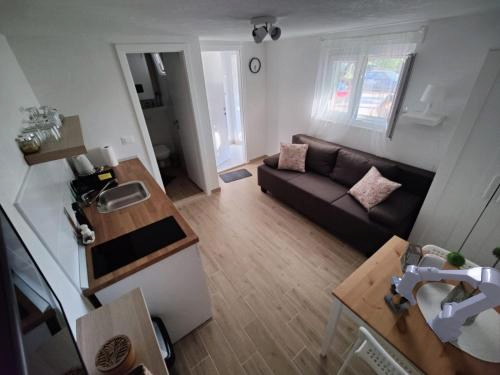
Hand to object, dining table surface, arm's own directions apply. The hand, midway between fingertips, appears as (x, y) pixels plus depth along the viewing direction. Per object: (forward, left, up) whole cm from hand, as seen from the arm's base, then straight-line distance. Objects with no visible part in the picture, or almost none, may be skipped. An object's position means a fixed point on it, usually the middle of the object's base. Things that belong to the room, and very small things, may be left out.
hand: (398, 299), depth 114 cm
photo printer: (+15, -34, -4) cm, 37 cm away
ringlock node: (+4, -4, -4) cm, 8 cm away
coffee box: (+20, -23, -4) cm, 31 cm away
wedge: (0, 0, -4) cm, 4 cm away
